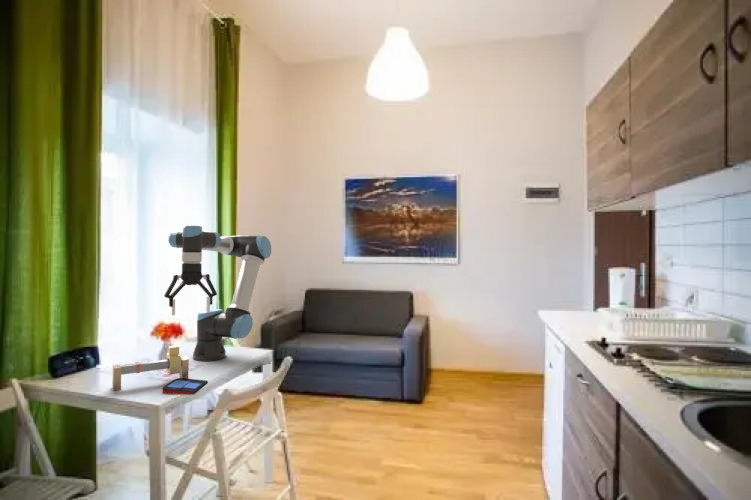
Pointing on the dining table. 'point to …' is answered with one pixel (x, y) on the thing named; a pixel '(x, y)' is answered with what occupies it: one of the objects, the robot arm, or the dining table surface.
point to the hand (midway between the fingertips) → (191, 313)
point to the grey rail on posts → (145, 369)
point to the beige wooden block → (174, 360)
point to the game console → (184, 386)
